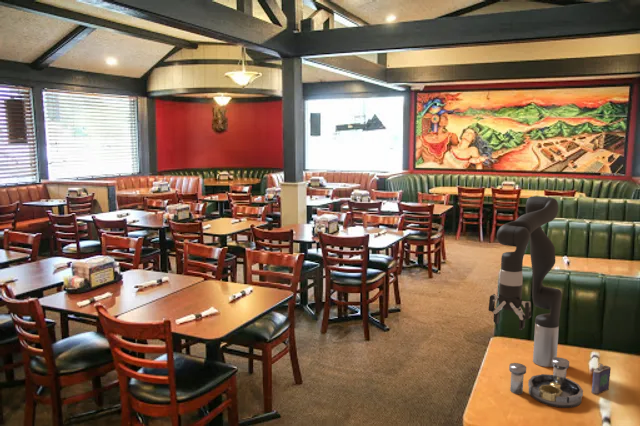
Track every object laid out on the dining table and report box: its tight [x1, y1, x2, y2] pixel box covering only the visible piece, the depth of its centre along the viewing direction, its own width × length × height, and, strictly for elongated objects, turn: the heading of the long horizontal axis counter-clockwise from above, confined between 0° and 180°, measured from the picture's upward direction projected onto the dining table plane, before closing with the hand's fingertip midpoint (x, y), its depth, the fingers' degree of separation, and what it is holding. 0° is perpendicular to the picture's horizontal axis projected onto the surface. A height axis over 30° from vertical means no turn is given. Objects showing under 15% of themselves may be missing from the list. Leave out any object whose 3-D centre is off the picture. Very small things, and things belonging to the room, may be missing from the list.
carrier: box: [527, 356, 584, 409], centre depth 189 cm, size 18×18×12 cm
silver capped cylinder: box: [508, 362, 527, 395], centre depth 193 cm, size 6×6×10 cm
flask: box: [591, 362, 612, 396], centre depth 193 cm, size 9×3×11 cm, turn 121°
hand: (508, 326), depth 180 cm, fingers open, 8 cm apart
